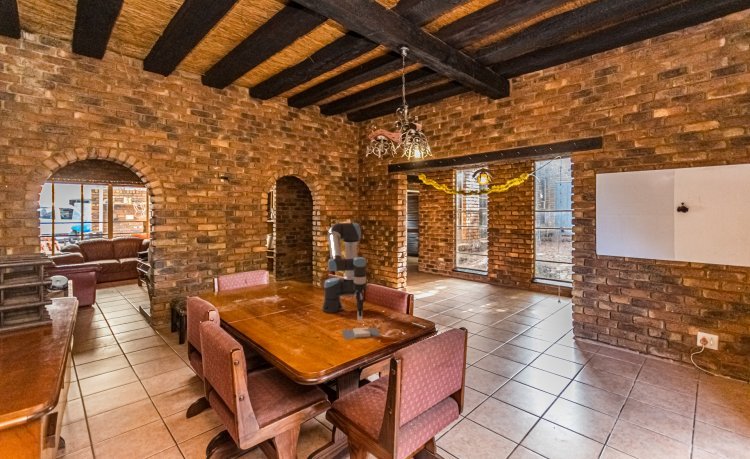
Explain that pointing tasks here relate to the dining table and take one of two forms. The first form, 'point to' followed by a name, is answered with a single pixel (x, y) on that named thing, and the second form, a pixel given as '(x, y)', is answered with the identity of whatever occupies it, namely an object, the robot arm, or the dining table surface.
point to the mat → (350, 335)
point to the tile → (361, 332)
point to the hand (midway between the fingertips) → (359, 320)
